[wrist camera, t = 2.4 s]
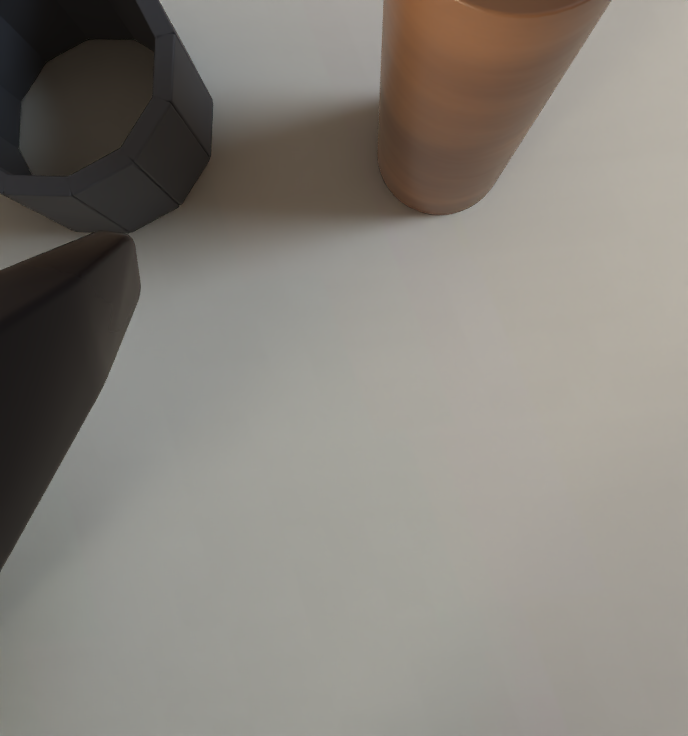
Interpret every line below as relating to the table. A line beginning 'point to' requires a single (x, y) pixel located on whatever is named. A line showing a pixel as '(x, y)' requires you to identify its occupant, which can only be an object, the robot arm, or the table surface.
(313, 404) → the table surface
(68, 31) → the tube
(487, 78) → the peg
